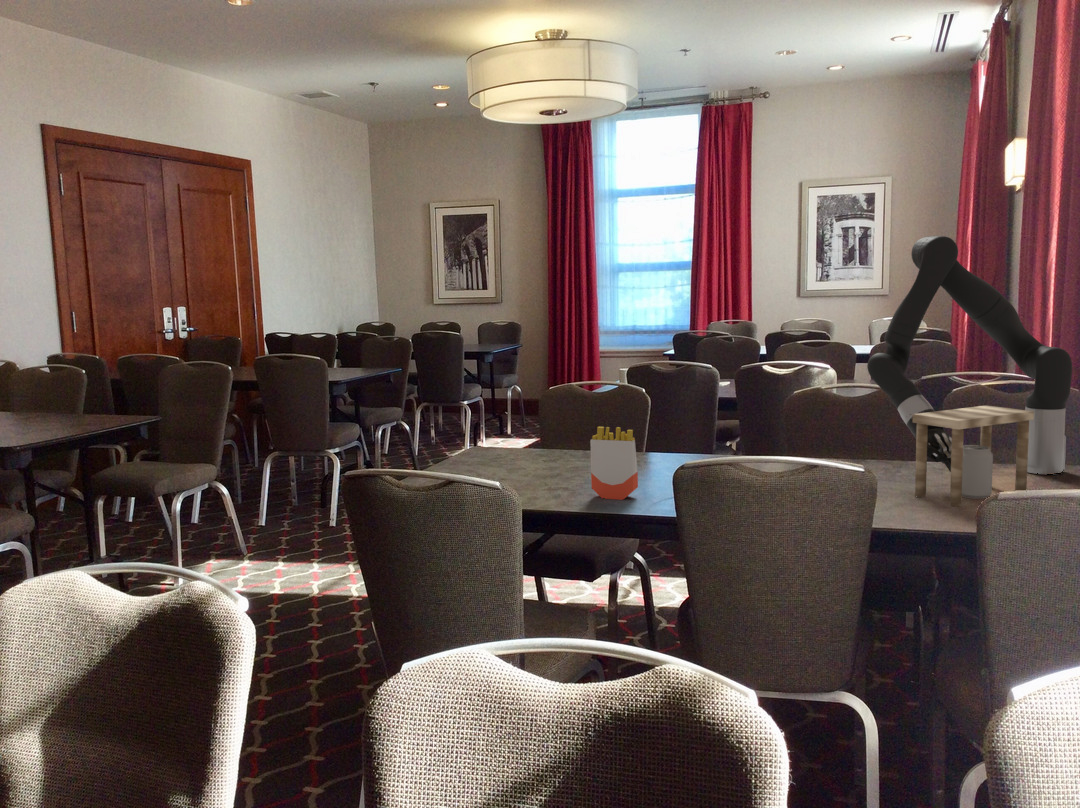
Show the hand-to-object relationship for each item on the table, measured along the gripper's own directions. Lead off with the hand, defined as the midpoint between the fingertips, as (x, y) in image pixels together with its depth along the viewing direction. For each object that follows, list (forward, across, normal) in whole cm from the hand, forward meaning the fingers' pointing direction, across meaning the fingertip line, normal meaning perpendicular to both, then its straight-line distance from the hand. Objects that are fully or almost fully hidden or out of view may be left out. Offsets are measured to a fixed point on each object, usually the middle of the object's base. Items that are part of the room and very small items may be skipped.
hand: (958, 473), depth 214 cm
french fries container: (-24, -73, +32) cm, 83 cm away
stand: (+6, 0, +1) cm, 6 cm away
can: (+7, 0, 0) cm, 7 cm away
